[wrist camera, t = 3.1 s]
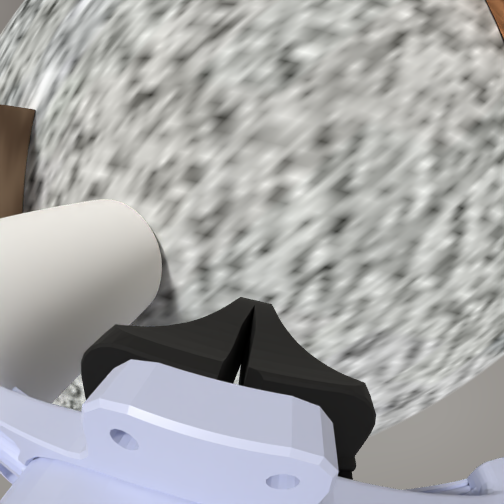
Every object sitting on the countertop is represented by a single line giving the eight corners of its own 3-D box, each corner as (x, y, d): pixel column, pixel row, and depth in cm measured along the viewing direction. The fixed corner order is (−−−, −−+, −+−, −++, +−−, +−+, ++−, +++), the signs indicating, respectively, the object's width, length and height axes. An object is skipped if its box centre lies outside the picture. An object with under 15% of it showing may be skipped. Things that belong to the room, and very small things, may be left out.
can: (147, 332, 16) (15, 494, 4) (62, 281, 16) (-88, 372, 4) (183, 228, 14) (-49, 363, 2) (84, 180, 14) (-122, 215, 2)
